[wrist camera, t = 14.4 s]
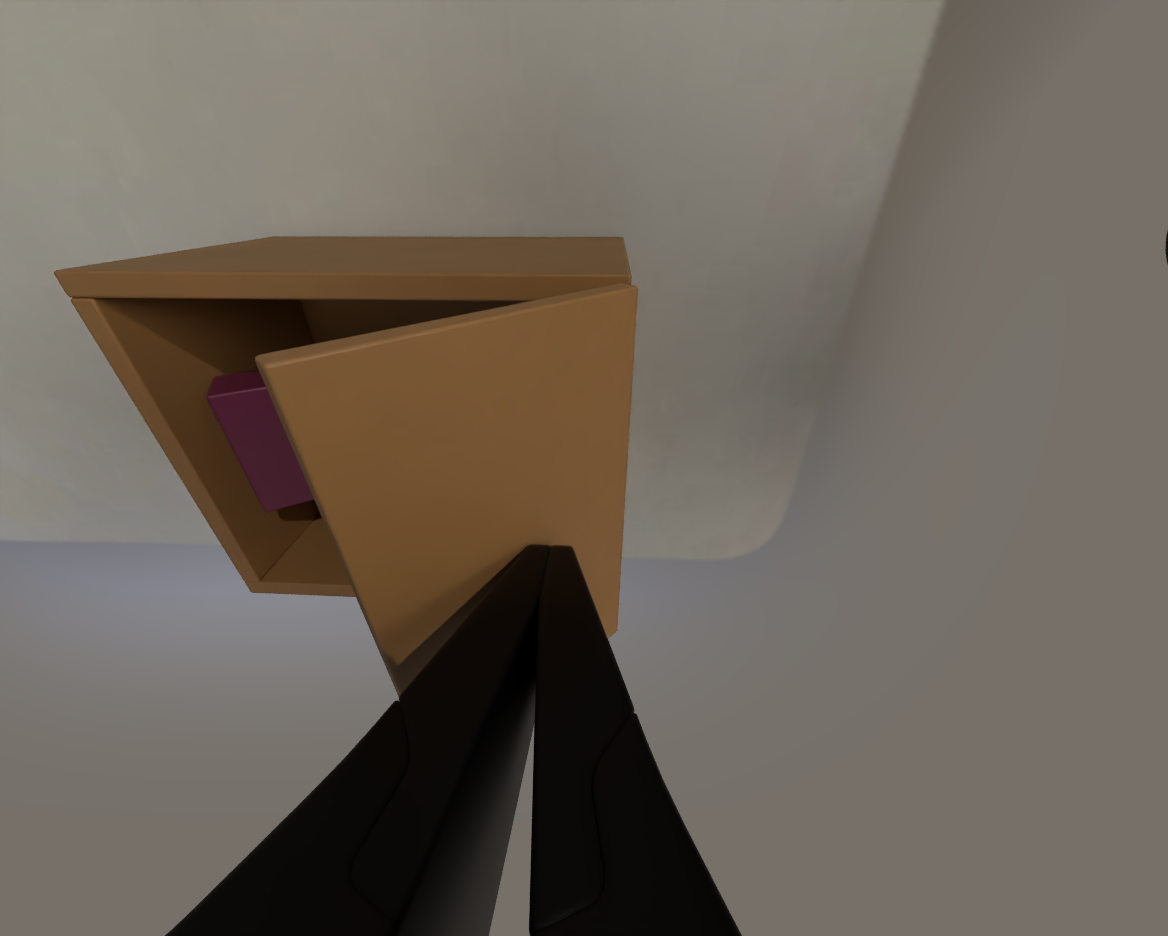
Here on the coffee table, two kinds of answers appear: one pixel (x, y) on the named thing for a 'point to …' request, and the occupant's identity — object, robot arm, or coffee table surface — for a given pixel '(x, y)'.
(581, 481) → the flap
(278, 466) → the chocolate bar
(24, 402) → the coffee table surface
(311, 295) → the carton
